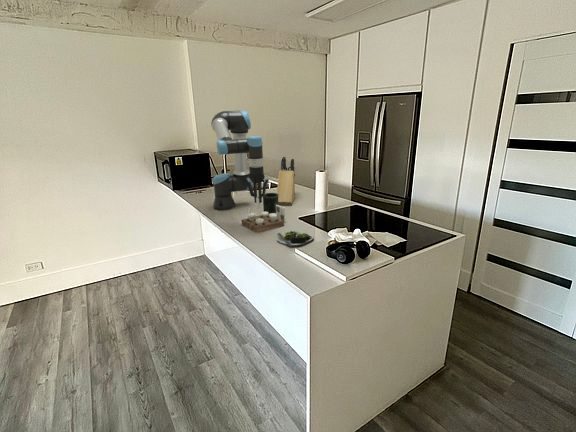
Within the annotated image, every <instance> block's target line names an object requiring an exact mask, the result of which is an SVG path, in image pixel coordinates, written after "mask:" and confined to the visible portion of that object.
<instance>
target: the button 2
mask: <svg viewBox="0 0 576 432" xmlns="http://www.w3.org/2000/svg"><path fill="white" fill-rule="evenodd" d="M256 223H257V226H261V225H263V224H262V223H264V220H263V218H258V219H256Z"/></svg>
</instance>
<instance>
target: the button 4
mask: <svg viewBox="0 0 576 432" xmlns="http://www.w3.org/2000/svg"><path fill="white" fill-rule="evenodd" d="M269 218H270V219H271V222H276V218H277V214H276V213H271V214H269Z"/></svg>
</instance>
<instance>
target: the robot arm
mask: <svg viewBox="0 0 576 432" xmlns="http://www.w3.org/2000/svg"><path fill="white" fill-rule="evenodd" d="M251 126H252V124H251V119H250V115H249V112H248V111H246V110H223V111H220V112H218V113H216V114H215V115H214V116H213V117H212V119H211V128H212V130H213V131H214V132H215V134H216V137H217V141H216V150H217V153H218V155H225V156H226V155H234V156H233V157H234V171H233V172H232V174H230V173H229V172H224V173H219V174H216V175H215V176H213V179H212V180H213V181H212V184H213V191H214V192H213V193H214V198H213V200H214V201H213V207H212V208H213V210H216V211H229V210H231V209H234V208H236V202H235V200H234V198H233V195H232V194H233V193H235V192H236V193H237V192H246V191H249V194H250V197H253V199H254V204H256V210H260V209H261V207H262V206H261V204H263V196H264V195H265V193H267V192H266V191H267V186H268V182H269V181H270V180H269V178H267V177H266V176H265V174H264V171H265V170H264V155H263V152H264V151H263V138H262V136H261V135H250V136H247V135H248V134H249V130H251ZM248 167H249V168H248ZM263 182H264V184H263V187H262V183H263ZM232 192H233V193H232Z"/></svg>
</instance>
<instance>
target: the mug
mask: <svg viewBox="0 0 576 432" xmlns="http://www.w3.org/2000/svg"><path fill="white" fill-rule="evenodd" d="M278 196H279V194H277V192H268V193H267V192H265V195H264V196H263V197H262V206H263V212H265V211H266V212H268V214H271V213H276V205H279V203H278ZM279 206H280V205H279Z"/></svg>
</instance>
